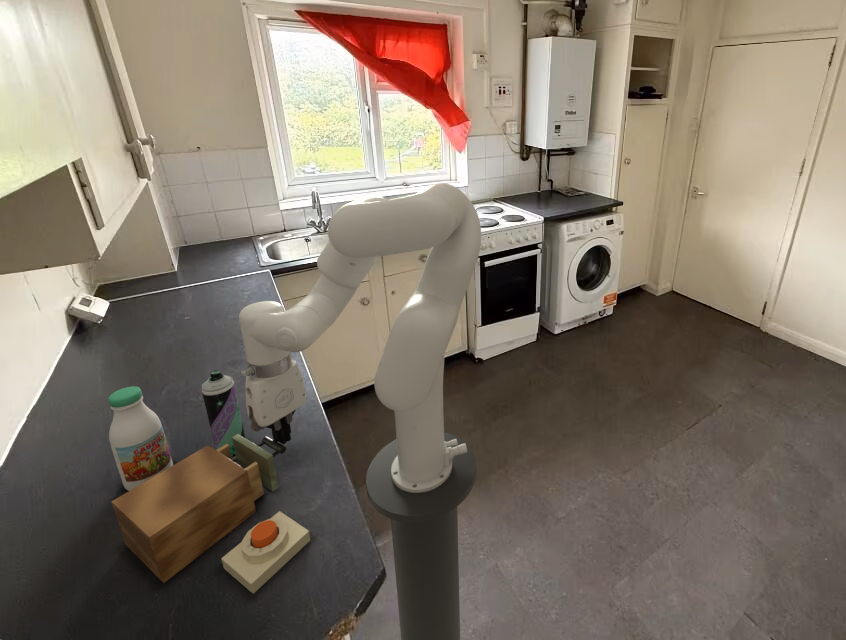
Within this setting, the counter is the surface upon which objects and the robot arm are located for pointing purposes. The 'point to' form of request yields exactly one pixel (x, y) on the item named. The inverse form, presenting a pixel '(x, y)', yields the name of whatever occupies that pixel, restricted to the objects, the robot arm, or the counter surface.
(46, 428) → the counter surface
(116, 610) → the counter surface
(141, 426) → the milk bottle
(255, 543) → the button
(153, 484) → the cabinet
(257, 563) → the button box
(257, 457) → the drawer
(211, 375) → the spray can
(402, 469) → the robot arm
